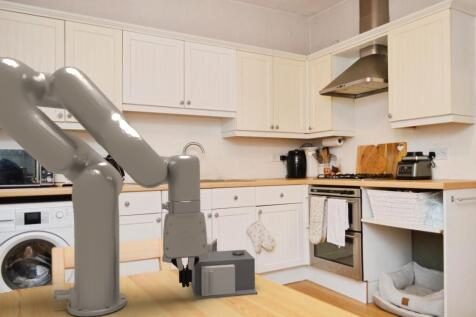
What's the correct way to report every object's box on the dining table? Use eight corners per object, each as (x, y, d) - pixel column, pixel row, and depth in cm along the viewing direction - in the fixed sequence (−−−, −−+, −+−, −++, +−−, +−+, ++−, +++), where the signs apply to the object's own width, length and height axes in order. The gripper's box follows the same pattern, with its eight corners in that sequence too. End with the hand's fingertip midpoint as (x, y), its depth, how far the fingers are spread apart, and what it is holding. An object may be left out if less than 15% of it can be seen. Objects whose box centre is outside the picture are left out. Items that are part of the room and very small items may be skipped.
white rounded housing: (211, 278, 103) (211, 242, 103) (187, 277, 105) (187, 241, 105) (217, 272, 109) (217, 238, 109) (194, 271, 111) (194, 237, 111)
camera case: (195, 299, 88) (195, 262, 88) (191, 282, 100) (190, 250, 100) (257, 294, 91) (257, 258, 91) (245, 278, 103) (245, 247, 103)
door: (202, 297, 88) (202, 269, 88) (201, 293, 90) (201, 266, 90) (235, 294, 89) (235, 266, 89) (233, 290, 92) (233, 264, 92)
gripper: (151, 210, 83) (152, 293, 82) (218, 208, 86) (219, 288, 86) (152, 207, 90) (153, 283, 90) (213, 204, 93) (214, 278, 93)
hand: (185, 285), depth 88 cm, fingers closed
